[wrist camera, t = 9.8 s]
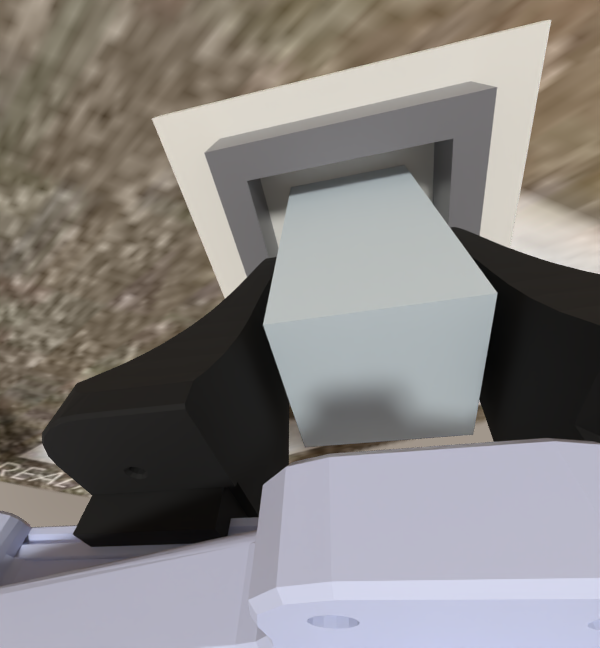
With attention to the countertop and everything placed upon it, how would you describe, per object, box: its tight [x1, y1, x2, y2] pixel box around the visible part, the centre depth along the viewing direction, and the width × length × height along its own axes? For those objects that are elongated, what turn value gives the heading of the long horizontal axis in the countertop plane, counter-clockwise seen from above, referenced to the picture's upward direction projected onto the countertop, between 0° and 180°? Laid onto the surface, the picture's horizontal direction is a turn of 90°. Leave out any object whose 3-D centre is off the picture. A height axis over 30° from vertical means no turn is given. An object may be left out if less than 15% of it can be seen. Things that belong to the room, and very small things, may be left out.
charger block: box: [263, 165, 497, 447], centre depth 10 cm, size 4×4×8 cm
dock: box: [152, 20, 551, 298], centre depth 13 cm, size 12×10×2 cm
